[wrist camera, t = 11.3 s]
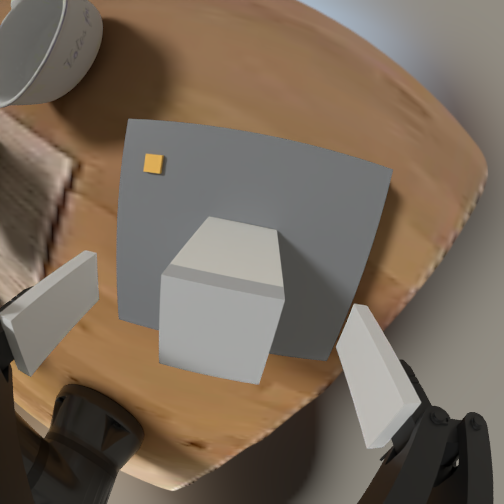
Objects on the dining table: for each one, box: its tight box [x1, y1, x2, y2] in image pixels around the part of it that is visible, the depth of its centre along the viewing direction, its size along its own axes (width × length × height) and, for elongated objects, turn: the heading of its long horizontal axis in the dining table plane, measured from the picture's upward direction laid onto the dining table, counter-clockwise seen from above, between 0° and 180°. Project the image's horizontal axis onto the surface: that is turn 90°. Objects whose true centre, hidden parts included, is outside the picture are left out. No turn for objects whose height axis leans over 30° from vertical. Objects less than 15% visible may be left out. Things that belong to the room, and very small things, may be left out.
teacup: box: [0, 0, 103, 108], centre depth 13 cm, size 14×11×8 cm
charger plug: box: [159, 216, 285, 384], centre depth 16 cm, size 4×4×12 cm
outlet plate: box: [117, 119, 393, 361], centre depth 20 cm, size 16×18×4 cm
